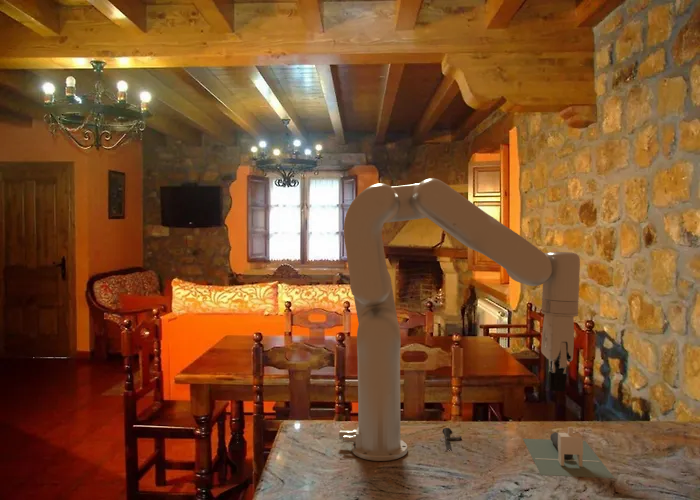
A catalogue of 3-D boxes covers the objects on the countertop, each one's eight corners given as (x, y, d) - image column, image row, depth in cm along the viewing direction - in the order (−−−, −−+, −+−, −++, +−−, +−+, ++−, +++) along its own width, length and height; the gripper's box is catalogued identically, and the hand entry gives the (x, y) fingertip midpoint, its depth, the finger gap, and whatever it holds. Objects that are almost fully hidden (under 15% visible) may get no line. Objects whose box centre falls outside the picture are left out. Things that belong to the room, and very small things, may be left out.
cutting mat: (540, 478, 111) (540, 474, 111) (522, 441, 131) (522, 438, 131) (614, 482, 110) (614, 477, 110) (585, 444, 130) (585, 440, 130)
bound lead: (560, 460, 119) (560, 448, 119) (550, 442, 129) (550, 432, 129) (573, 460, 118) (573, 449, 118) (561, 443, 128) (561, 432, 128)
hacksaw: (442, 432, 140) (442, 426, 140) (484, 433, 139) (484, 427, 139) (449, 473, 116) (449, 465, 116) (500, 474, 115) (500, 467, 115)
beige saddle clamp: (560, 465, 115) (560, 428, 115) (557, 460, 117) (557, 424, 117) (582, 466, 115) (583, 429, 114) (579, 461, 117) (579, 425, 117)
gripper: (535, 303, 132) (532, 380, 132) (549, 311, 117) (546, 398, 117) (568, 304, 131) (565, 382, 131) (587, 313, 116) (583, 401, 116)
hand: (556, 390), depth 124 cm, fingers closed
